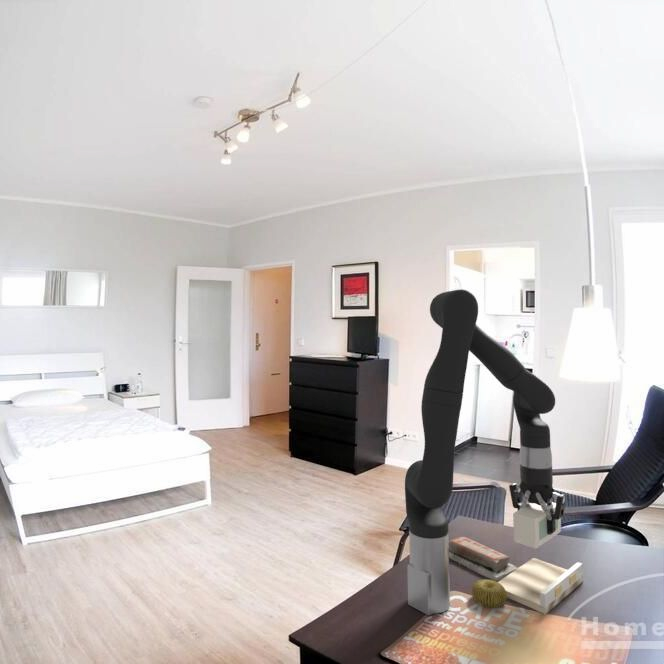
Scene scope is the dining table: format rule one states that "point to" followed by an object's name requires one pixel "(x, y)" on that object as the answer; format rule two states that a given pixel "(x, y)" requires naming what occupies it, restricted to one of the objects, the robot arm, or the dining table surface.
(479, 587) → the sculpture
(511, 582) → the shelf board
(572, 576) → the rail
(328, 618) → the dining table surface
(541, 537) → the carton
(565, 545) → the dining table surface
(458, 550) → the packaged product
